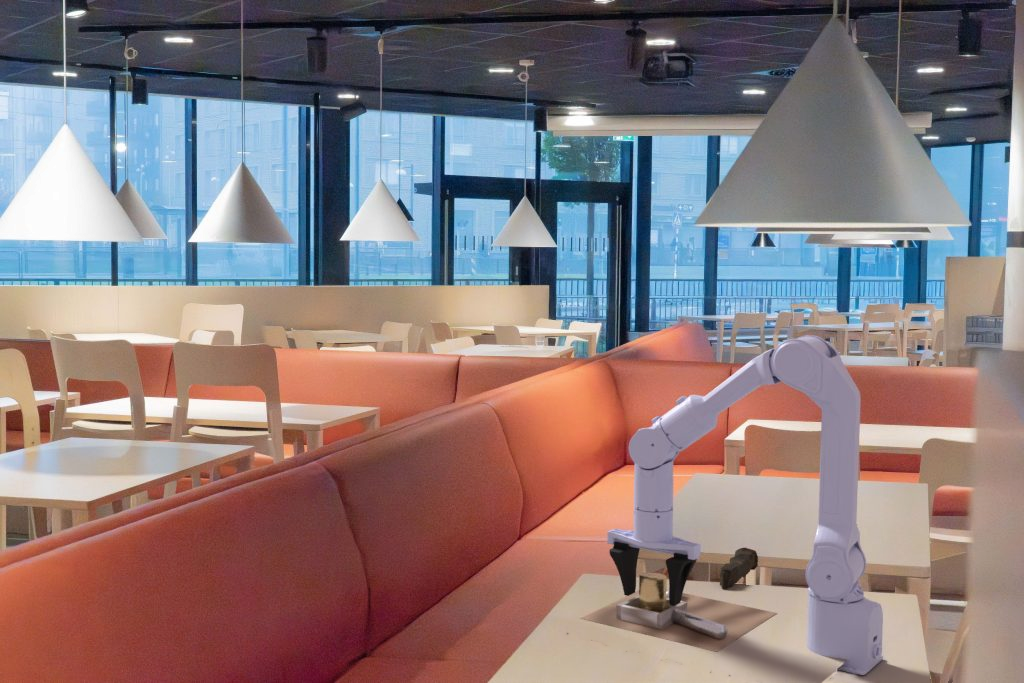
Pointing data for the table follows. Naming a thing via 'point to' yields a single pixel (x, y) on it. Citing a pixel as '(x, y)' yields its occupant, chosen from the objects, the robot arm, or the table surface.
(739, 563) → the hand tool
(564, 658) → the table surface
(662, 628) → the plate
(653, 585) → the brass cylinder
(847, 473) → the robot arm
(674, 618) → the shaft
